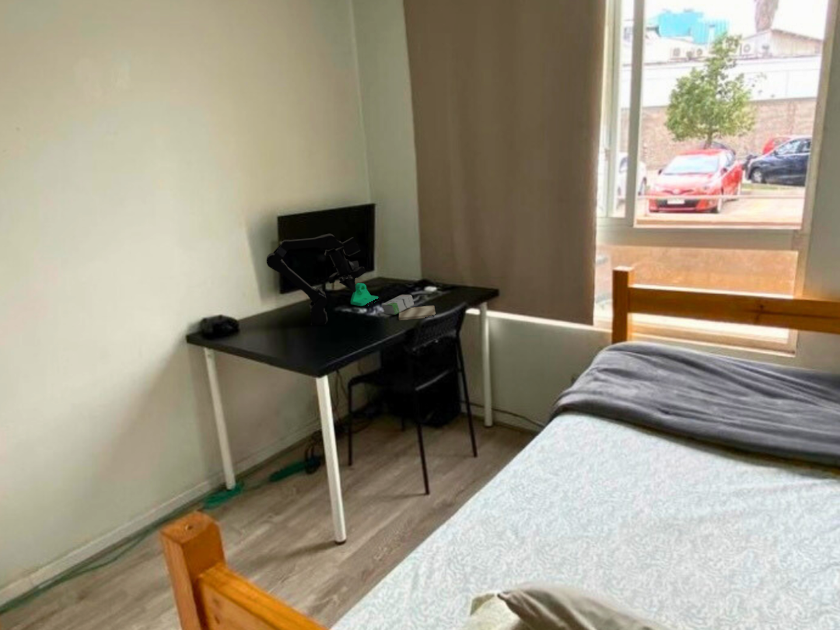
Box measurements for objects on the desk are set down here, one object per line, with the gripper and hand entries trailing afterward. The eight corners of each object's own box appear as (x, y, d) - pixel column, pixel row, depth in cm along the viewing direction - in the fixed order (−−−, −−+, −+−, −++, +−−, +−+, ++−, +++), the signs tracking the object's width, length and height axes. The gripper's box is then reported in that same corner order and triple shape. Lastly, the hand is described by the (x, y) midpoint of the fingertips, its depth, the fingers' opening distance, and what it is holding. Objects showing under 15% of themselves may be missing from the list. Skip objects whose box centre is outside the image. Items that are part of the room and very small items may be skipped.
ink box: (395, 315, 249) (415, 304, 255) (391, 304, 247) (412, 294, 254) (384, 314, 256) (404, 304, 262) (381, 304, 254) (401, 294, 261)
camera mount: (361, 308, 269) (358, 287, 266) (351, 306, 274) (348, 285, 271) (379, 301, 277) (377, 281, 274) (369, 300, 282) (367, 280, 279)
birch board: (399, 320, 244) (398, 317, 243) (399, 311, 257) (399, 308, 257) (435, 316, 244) (435, 314, 243) (434, 307, 257) (434, 305, 257)
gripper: (365, 249, 246) (379, 280, 251) (335, 256, 257) (350, 286, 263) (350, 260, 238) (366, 292, 243) (320, 267, 249) (336, 298, 255)
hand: (354, 291), depth 251 cm, fingers closed
